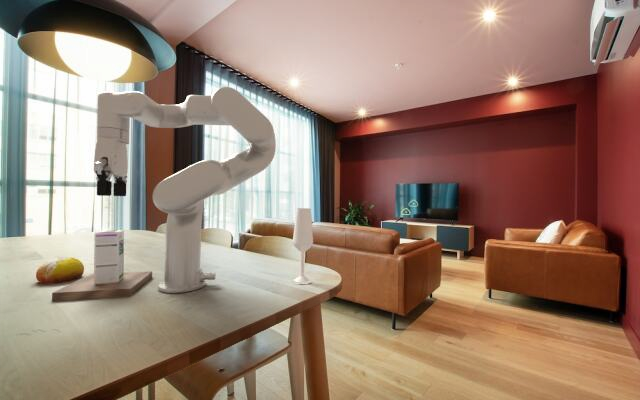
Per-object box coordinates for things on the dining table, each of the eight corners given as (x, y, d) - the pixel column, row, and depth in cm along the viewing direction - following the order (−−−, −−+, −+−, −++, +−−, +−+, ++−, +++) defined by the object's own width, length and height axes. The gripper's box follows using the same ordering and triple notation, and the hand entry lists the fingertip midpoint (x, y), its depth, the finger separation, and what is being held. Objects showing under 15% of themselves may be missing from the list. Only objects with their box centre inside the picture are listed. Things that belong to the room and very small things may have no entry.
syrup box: (118, 282, 78) (120, 231, 78) (92, 284, 75) (94, 232, 75) (123, 277, 83) (125, 229, 83) (99, 279, 80) (100, 229, 80)
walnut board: (152, 277, 90) (152, 271, 90) (130, 296, 73) (130, 288, 73) (90, 280, 86) (91, 273, 86) (51, 300, 68) (52, 292, 68)
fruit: (66, 272, 93) (72, 250, 92) (88, 284, 90) (94, 261, 90) (23, 280, 82) (30, 255, 82) (46, 294, 79) (54, 268, 79)
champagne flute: (287, 282, 88) (289, 208, 88) (299, 277, 94) (301, 208, 94) (304, 286, 85) (306, 208, 85) (316, 281, 90) (317, 208, 91)
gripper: (112, 142, 87) (111, 196, 87) (81, 128, 70) (79, 195, 70) (139, 143, 89) (138, 196, 89) (115, 130, 72) (113, 195, 72)
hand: (112, 195), depth 79 cm, fingers open, 9 cm apart
